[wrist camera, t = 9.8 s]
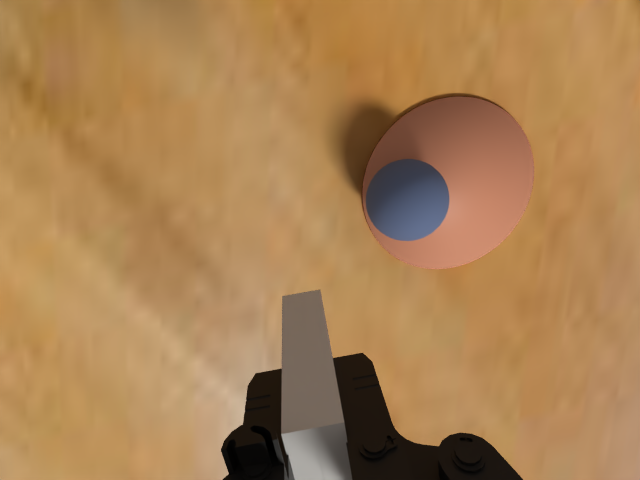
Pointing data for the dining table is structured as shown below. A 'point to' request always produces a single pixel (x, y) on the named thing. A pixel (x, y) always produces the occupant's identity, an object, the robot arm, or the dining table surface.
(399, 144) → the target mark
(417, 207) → the ball
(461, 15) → the dining table surface
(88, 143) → the dining table surface
